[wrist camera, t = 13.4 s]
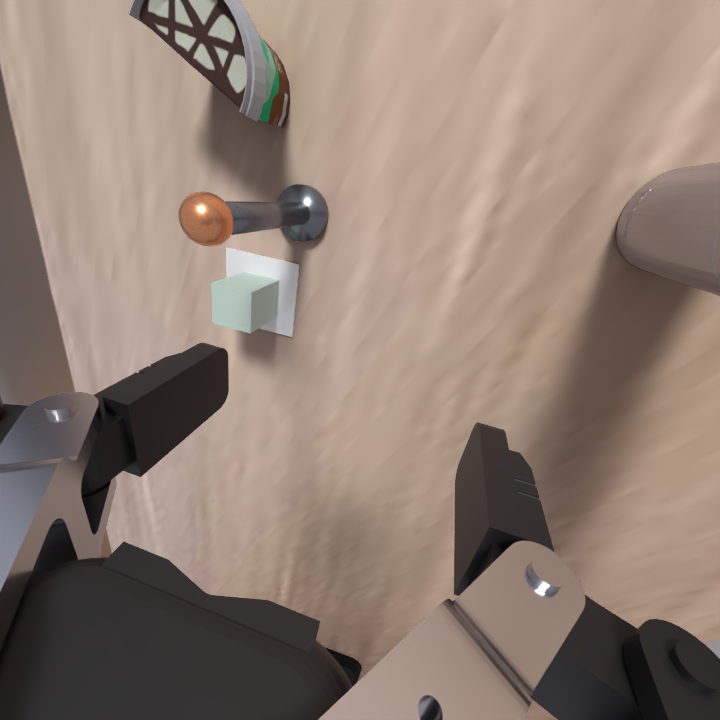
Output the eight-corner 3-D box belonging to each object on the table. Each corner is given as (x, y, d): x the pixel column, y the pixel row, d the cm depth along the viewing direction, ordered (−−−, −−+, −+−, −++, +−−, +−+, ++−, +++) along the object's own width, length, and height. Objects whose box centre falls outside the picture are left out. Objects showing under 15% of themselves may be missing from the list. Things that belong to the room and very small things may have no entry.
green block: (279, 280, 44) (251, 292, 38) (277, 316, 46) (250, 333, 40) (244, 271, 45) (211, 282, 38) (243, 307, 47) (212, 323, 41)
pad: (299, 264, 43) (298, 264, 43) (293, 336, 47) (292, 337, 47) (228, 247, 44) (226, 248, 44) (228, 319, 49) (226, 319, 48)
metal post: (331, 190, 38) (230, 178, 21) (324, 244, 41) (230, 275, 23) (282, 180, 39) (145, 161, 22) (279, 234, 42) (155, 257, 24)
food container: (324, 79, 34) (281, 36, 26) (293, 137, 37) (245, 117, 28) (227, -11, 33) (146, -88, 24) (202, 56, 36) (122, 8, 27)
